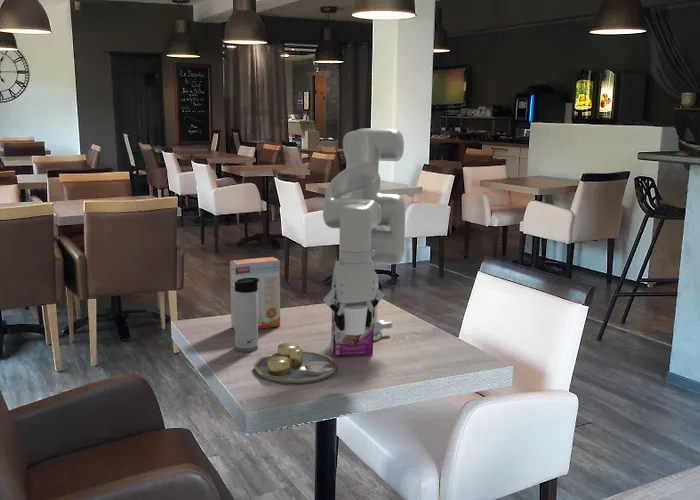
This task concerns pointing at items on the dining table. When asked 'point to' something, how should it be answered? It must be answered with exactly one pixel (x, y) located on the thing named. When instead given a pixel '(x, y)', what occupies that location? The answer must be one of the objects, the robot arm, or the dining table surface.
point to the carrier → (295, 366)
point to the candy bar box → (351, 340)
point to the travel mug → (246, 314)
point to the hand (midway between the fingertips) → (353, 326)
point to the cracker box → (259, 288)
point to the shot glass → (355, 318)
